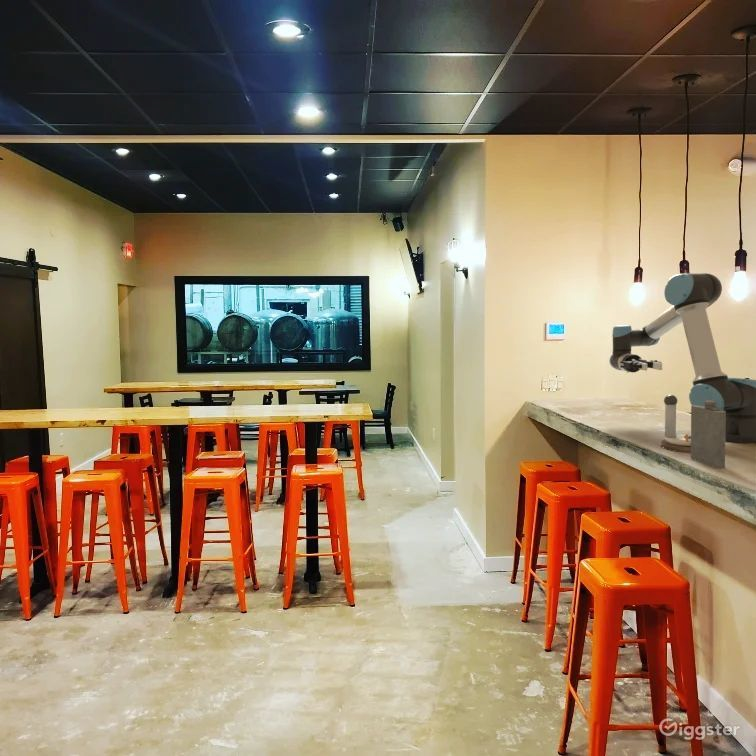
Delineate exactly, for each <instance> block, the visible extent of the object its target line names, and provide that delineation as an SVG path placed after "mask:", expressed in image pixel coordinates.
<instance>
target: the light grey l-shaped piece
mask: <svg viewBox="0 0 756 756" xmlns="http://www.w3.org/2000/svg"><path fill="white" fill-rule="evenodd" d="M663 402H664V437H665V439H664V440H665V441H666V442H667V443H670V444H675V445H683V446H691V433H690V434H689V433H685V434H684V433H681V434H680V433H679V434H678V433H677V404H678V397H676V395H674V394H667V395H665V397H664V399H663Z"/></svg>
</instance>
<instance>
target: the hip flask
mask: <svg viewBox="0 0 756 756" xmlns="http://www.w3.org/2000/svg"><path fill="white" fill-rule="evenodd" d="M704 404H705V405H704V406H697V405H694V406H692V405H691V408H690V434H691V452H690V459H691V458H692V459H691V460H694V459H696V460H695V461H697V460H699V461H698V462H701V461H702V462H701V463H703V462H704V463H703V464H706V463H707V464H706V465H708V464H709V466H710V467H712V466H713V467H712V468H714V469H726V441H725V433H726V411H723V410H721V409H718V408H716V405H715V404H716V401H704Z"/></svg>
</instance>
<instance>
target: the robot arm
mask: <svg viewBox="0 0 756 756" xmlns="http://www.w3.org/2000/svg"><path fill="white" fill-rule="evenodd" d="M722 292H723V286H722V283H721V280H720V279H719V278H718V277H717V276H715V275H714V274H711V273H706V272H705V273H689V272H684V273H679V274H678V273H677V274H675V275H673V276H672V277H670V278H669V279H668V281H667V284H666V285H665V286H664V292H663V293H664V298H665V300H666V302H667V303H668V304H669V305H672V306H670V307H669V308H668V309H667V310H665V311H663V312H662V313H661V314H659V316H657V317H656V318H654V319H653V320H651V321H650V322H649V323H647V324H646V325H645V326H643V327H642V328H632V325H629V324H627V325H614V326H613V327H612V336H611V337H612V354H611V355H610V358H609V365H610V366H611V367H612V368H614V369H615V370H618V371H624V372H626V374H628V373H637V372H639V371H640V370H641V371H646V372H647V371H648V368H649V369H653V370H657V371H663V362H662V361H658V359H654V360H652V359H651V360H648V361H647V360H646V359H642V357H641V356H639V355H638V354H635V353H632V347H651V346H656V345H657V344H658V343H659V341H660V339H661V337H662V336H664V335H665V334H667V333H668V332H670V331H671V330H672V329H674V328H676V327H677V326H679V324H682V325H683V329H684V333H685V338H686V342H687V347H688V350H689V353H690V354H689V355H690V358H691V363H692V367H693V369H694V374H695V377H694V379H693V380H692V385H693V386H692V387H691V389H690V392H689V393H688V394H689V395H688V400H689V402H690V405H691V406H694V405H697V406H704V405H705V404H704V401H716V404H715V405H716V408H718V409H721V410H723V411H726V433H725V442H734V443H750V444H751V443H752V444H753V443H756V379H751V378H739V377H728V374H726V373H725V372H723V371H722V369H721V365H720V361H719V357H718V352H717V349H716V345H715V341H714V337H713V332H712V328H711V326H710V321H709V316H708V312H707V309H708V308H709V307H710V306H712V305H713V304H715V303H716V302H717V301H718V299H719V298H720V297H721V295H722Z"/></svg>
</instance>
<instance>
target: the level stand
mask: <svg viewBox="0 0 756 756" xmlns="http://www.w3.org/2000/svg"><path fill="white" fill-rule="evenodd" d="M661 446H662V447H664V448H667V449H666V450H668V449H671V450H670V451H672V450H676V451H675V452H679V451H683V452H682V453H691V446H683V445H675V444H670V443H667V442H666V441H665V439H663V440H662V441H660V447H661ZM662 447H661V448H662ZM664 448H663V449H664Z"/></svg>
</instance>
